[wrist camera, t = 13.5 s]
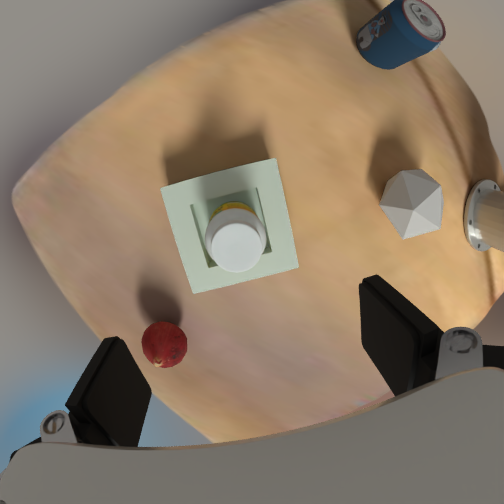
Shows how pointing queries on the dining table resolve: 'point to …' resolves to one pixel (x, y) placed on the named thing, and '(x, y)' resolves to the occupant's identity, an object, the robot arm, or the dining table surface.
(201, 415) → the dining table surface
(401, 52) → the soda can
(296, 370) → the dining table surface
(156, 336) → the onion
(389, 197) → the die
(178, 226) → the sage block
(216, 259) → the supplement bottle
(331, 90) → the dining table surface
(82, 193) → the dining table surface
